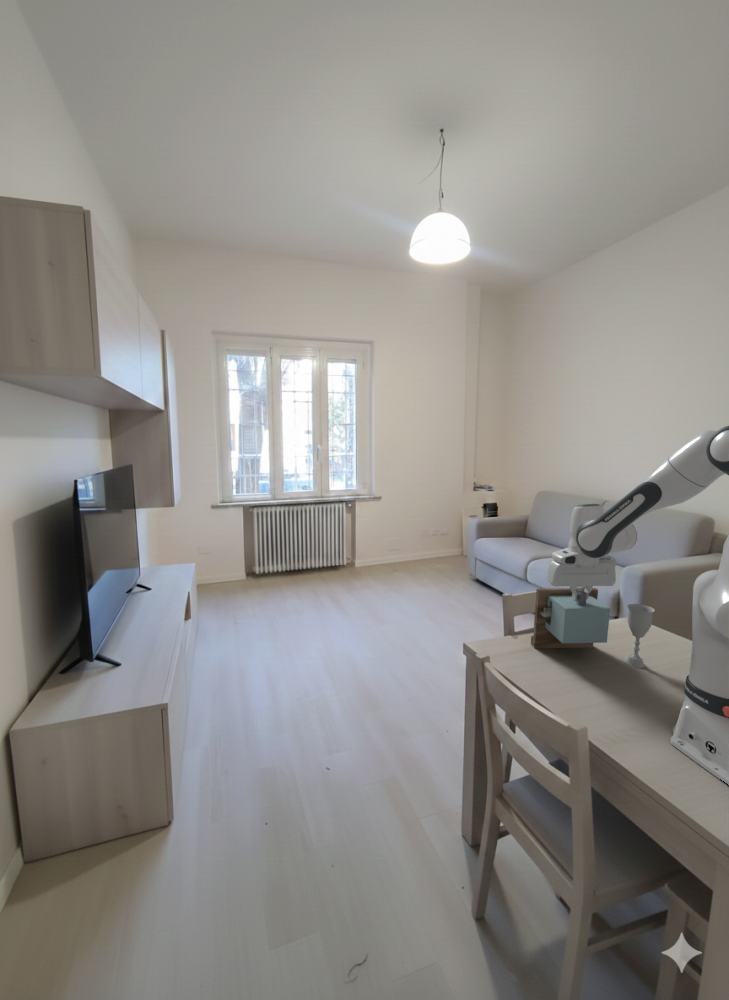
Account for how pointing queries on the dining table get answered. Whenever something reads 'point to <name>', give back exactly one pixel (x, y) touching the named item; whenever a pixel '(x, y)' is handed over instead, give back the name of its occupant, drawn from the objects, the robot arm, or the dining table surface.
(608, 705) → the dining table surface
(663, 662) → the dining table surface
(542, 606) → the wall board
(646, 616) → the chalice
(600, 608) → the cabinet
